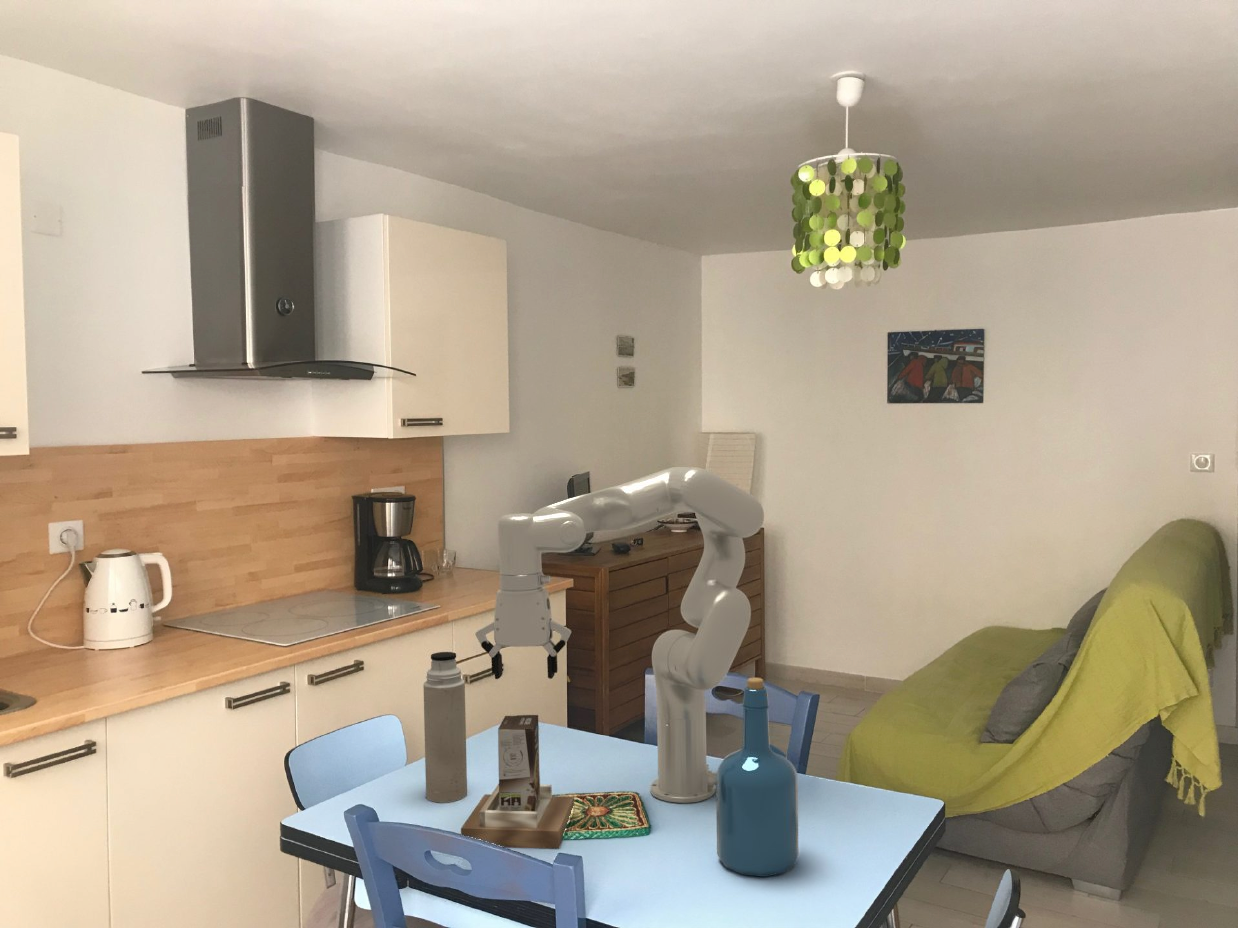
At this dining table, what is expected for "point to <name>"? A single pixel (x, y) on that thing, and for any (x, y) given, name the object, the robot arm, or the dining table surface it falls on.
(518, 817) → the dock
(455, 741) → the thermos bottle
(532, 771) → the coffee box
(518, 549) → the robot arm
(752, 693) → the wine bottle
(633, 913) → the dining table surface
